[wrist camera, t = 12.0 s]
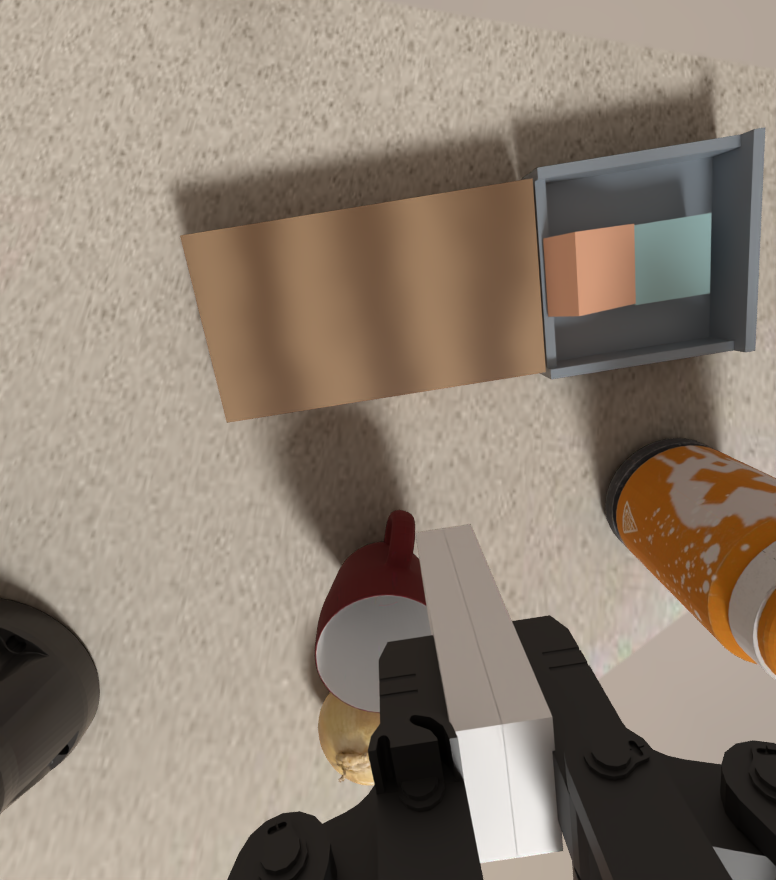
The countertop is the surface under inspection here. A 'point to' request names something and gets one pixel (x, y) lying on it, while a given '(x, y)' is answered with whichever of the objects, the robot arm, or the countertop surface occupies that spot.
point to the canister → (704, 538)
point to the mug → (370, 613)
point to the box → (645, 201)
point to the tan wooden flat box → (371, 300)
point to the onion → (347, 739)
